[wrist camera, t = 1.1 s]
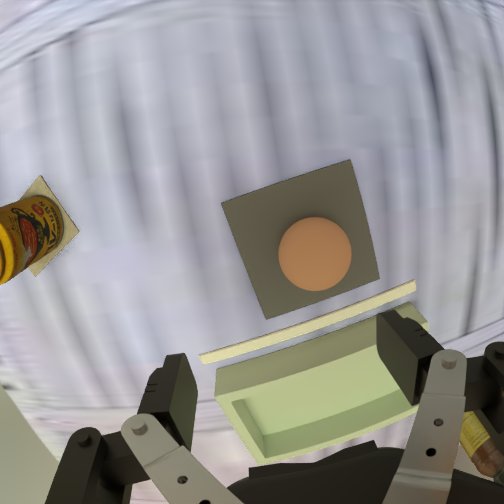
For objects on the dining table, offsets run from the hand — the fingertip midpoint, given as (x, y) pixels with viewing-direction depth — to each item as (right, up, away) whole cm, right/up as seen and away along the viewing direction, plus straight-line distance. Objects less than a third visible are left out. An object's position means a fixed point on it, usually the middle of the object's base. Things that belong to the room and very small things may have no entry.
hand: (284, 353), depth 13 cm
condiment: (-24, +7, +15) cm, 29 cm away
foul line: (+5, -3, +19) cm, 20 cm away
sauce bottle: (+31, -20, +26) cm, 45 cm away
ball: (+4, +5, +16) cm, 18 cm away
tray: (+7, -11, +22) cm, 26 cm away
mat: (+4, +5, +17) cm, 18 cm away
